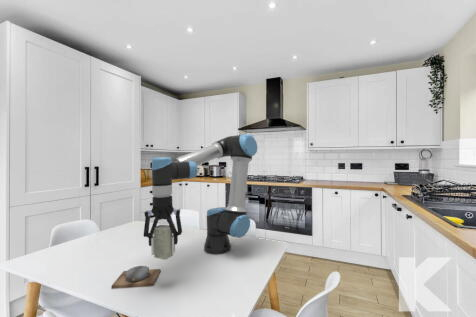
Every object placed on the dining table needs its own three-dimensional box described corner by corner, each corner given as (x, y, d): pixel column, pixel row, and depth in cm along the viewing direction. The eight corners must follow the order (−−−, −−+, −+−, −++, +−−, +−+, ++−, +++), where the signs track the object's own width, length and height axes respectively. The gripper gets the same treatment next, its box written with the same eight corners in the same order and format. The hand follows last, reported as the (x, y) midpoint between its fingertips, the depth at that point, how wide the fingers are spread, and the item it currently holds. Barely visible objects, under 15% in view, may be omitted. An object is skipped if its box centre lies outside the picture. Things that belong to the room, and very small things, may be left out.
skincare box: (173, 255, 91) (173, 225, 91) (165, 260, 87) (165, 229, 87) (160, 253, 94) (160, 224, 93) (153, 257, 89) (153, 227, 89)
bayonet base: (160, 271, 103) (160, 263, 103) (153, 286, 91) (153, 276, 91) (123, 273, 101) (123, 265, 101) (111, 288, 89) (111, 279, 89)
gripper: (189, 193, 95) (190, 247, 95) (139, 195, 93) (140, 250, 93) (186, 196, 88) (188, 255, 88) (132, 198, 86) (134, 258, 86)
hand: (163, 252), depth 90 cm, fingers closed on skincare box, 7 cm apart
